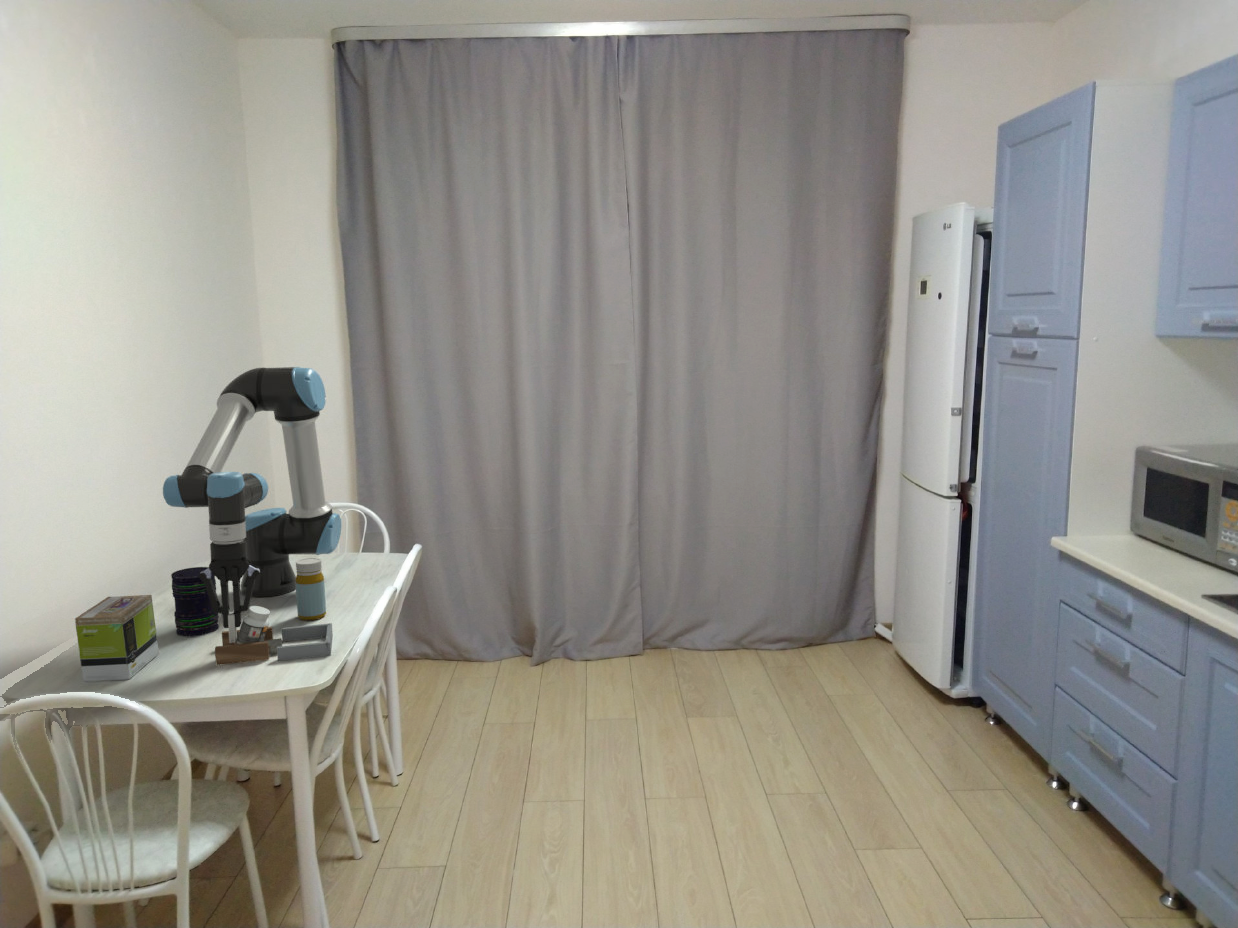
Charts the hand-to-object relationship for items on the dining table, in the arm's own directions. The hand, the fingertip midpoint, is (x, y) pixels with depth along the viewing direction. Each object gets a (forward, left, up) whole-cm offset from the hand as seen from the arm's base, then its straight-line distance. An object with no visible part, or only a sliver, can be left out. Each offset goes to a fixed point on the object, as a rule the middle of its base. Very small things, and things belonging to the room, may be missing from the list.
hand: (233, 640), depth 201 cm
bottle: (-23, +16, -4) cm, 29 cm away
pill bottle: (0, +3, -3) cm, 4 cm away
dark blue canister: (-21, -11, -4) cm, 24 cm away
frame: (0, +15, -4) cm, 16 cm away
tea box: (+1, -23, -4) cm, 23 cm away
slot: (0, +2, -4) cm, 4 cm away
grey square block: (0, +8, -4) cm, 9 cm away
